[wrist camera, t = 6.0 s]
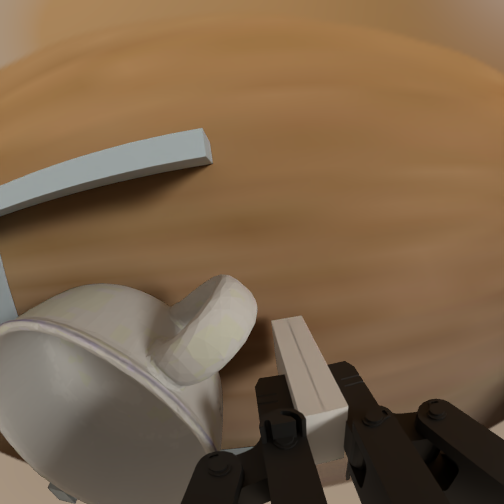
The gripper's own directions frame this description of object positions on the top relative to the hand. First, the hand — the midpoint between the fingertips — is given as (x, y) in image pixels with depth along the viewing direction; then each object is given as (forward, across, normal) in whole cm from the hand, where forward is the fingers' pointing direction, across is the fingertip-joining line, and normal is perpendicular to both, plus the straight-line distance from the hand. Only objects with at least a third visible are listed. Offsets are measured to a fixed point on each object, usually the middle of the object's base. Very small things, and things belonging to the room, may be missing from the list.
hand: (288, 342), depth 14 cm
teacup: (+2, +7, 0) cm, 8 cm away
